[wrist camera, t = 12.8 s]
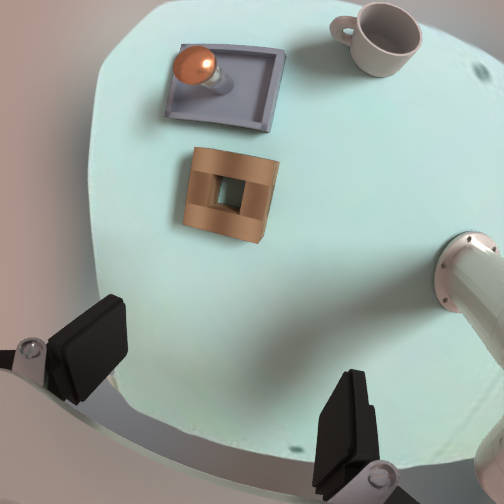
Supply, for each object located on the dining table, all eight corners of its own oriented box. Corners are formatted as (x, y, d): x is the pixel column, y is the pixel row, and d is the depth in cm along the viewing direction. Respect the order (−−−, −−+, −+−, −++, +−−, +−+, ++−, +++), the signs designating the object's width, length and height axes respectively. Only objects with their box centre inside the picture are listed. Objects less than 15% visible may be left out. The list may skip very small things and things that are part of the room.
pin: (242, 71, 31) (218, 46, 22) (235, 102, 33) (208, 84, 24) (211, 69, 32) (178, 45, 23) (204, 98, 34) (169, 82, 24)
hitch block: (279, 161, 35) (275, 161, 31) (263, 235, 38) (257, 243, 35) (206, 147, 36) (194, 146, 33) (195, 218, 40) (182, 224, 36)
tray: (286, 56, 30) (284, 49, 28) (269, 132, 34) (266, 130, 32) (188, 49, 32) (181, 44, 30) (172, 118, 36) (164, 116, 34)
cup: (398, 86, 28) (420, 66, 20) (324, 63, 29) (325, 36, 21) (403, 42, 26) (423, 16, 17) (332, 21, 27) (334, -12, 19)
